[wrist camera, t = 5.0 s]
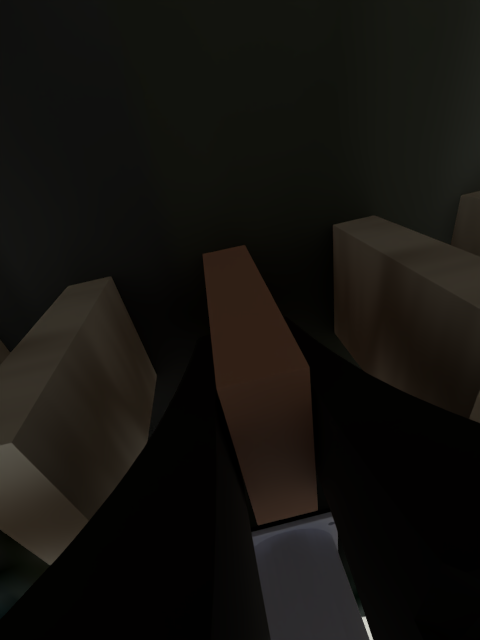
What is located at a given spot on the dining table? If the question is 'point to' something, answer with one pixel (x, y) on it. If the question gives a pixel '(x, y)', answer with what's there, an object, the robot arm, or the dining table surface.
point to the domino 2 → (409, 311)
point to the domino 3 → (468, 224)
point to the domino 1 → (71, 416)
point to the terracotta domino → (261, 387)
